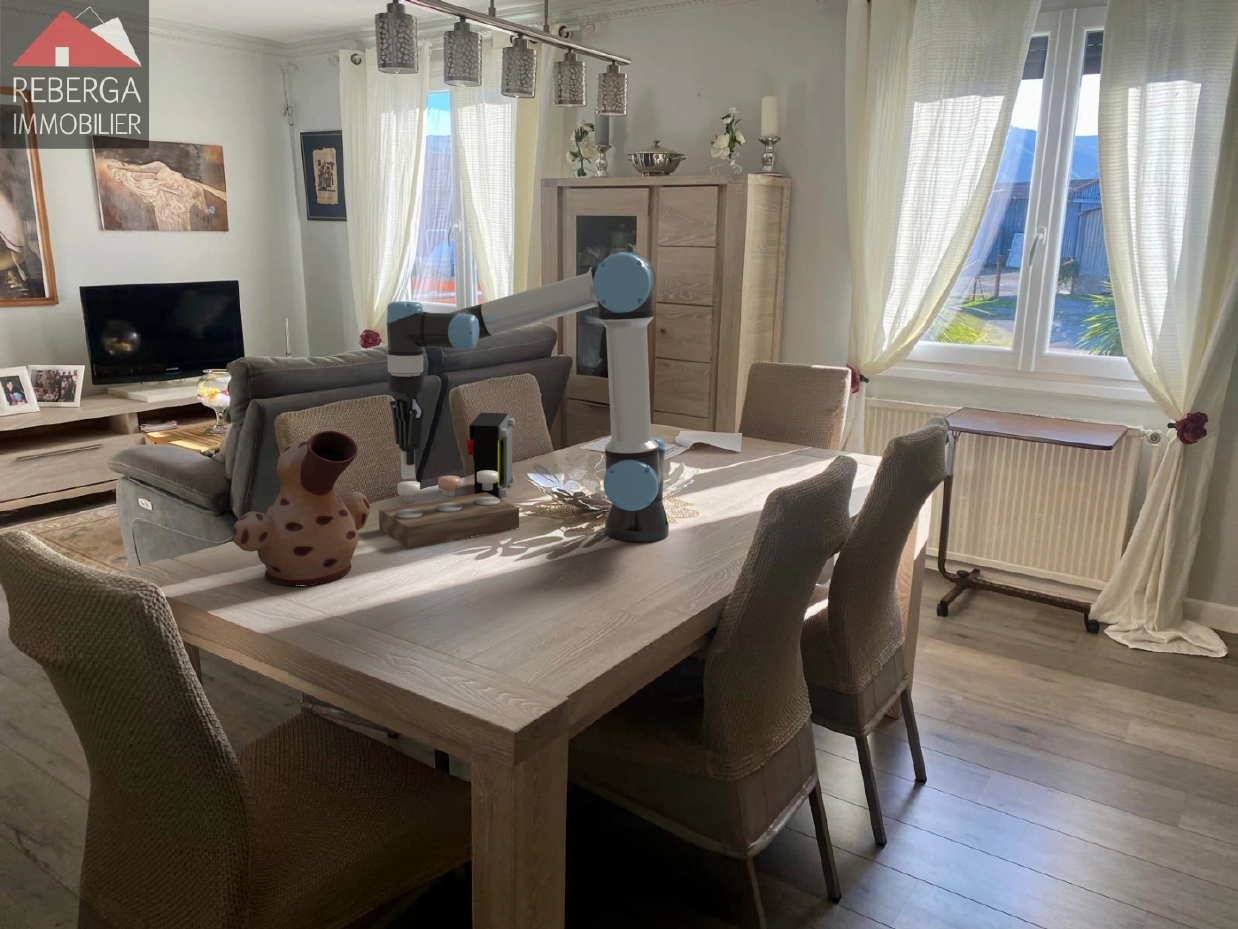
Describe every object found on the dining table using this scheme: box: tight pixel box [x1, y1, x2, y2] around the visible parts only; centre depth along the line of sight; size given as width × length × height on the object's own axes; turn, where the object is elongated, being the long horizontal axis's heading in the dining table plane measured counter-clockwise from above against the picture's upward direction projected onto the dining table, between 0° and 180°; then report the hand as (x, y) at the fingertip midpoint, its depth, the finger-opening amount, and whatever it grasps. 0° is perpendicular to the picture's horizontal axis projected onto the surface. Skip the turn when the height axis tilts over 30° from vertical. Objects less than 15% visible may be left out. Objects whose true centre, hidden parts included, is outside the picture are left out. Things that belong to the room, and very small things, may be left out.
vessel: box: [232, 430, 371, 587], centre depth 182 cm, size 29×22×30 cm
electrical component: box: [466, 412, 516, 500], centre depth 246 cm, size 18×10×20 cm, turn 179°
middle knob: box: [437, 475, 461, 497], centre depth 214 cm, size 5×5×4 cm
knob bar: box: [378, 492, 520, 550], centre depth 216 cm, size 16×28×6 cm, turn 127°
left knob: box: [396, 480, 421, 504], centre depth 208 cm, size 5×5×4 cm
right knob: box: [477, 470, 498, 491], centre depth 220 cm, size 5×5×4 cm
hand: (408, 477), depth 207 cm, fingers closed
